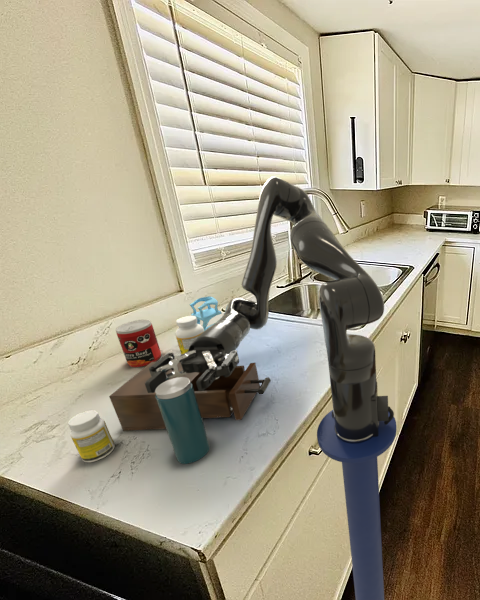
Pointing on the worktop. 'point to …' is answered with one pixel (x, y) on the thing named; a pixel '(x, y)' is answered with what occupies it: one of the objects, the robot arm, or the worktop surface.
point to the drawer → (230, 393)
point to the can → (182, 419)
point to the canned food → (138, 342)
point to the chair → (207, 313)
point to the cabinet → (141, 402)
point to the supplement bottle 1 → (91, 436)
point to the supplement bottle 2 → (187, 332)
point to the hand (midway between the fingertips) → (174, 387)
